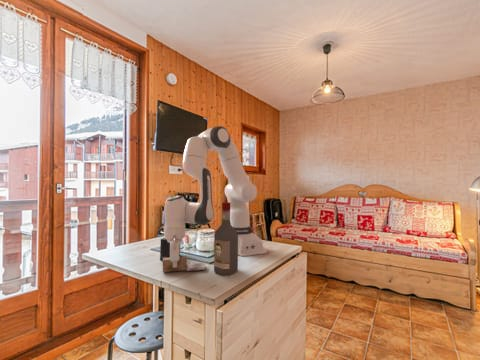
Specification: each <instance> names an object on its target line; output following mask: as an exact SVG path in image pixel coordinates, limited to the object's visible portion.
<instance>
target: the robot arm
mask: <svg viewBox="0 0 480 360" xmlns="http://www.w3.org/2000/svg"><path fill="white" fill-rule="evenodd" d="M184 147H185V148H184V151H183V155H182V156H183V158H182V162H181V163H182V169H183V171H184V173H185V174H186V175H188V176H189V177H191V178H193V179H195V180H197V181H198V183H199V196H200V197H199V198H200V200H199V202H193V201H188V200H186V199H185V198H184V196H183V195H172V196H169V197H167V198H166V199H165V202H164V211H163V212H164V214H163V215H164V216H163V217H164V221H165V222H164V229H163V231H164V233H163V236H164V237H163V238H165V239H167V242H169V243H170V261H171V262H173V268H175V267H177V261H179V257H180V256H179V245H180V246H181V242H182V241H183V239H185V238H186V223H187V224H195V225H199V226H202V227H203V226H207V225H208V224H210V223H211V222H212V221H213V219H214V216H215V215H214V214H215V212H214V206H213V194H212V193H213V191H212V189H213V188H212V174H211V171H210V170H209V169H208V168H207V167H208V166H207V154H208V152H212V151H215V152H217V154H218V159H219V161H220V165H221V168H222V171H223V175H224V176H225V177H226V179H227V180H228V182H229V183H228V184H226V186H225V187H224V195H225V197H226V199H227V202H230V223H231V225H232V227H233V228H234V229H235V230H236V231H237V234H238V256H241V257H248V256H257V255H261V254H267V253H268V248H266V247H265V246H264V243H263V240H262V239H261V238H260V236H258V235H256V234H255V233H254V232H255V231H256V228H255V227H252V226H251V224H250V223H251V222H250V220H251V219H250V215H251V214H250V213H251V212H250V211H249V209H248V205H247V203H249V202H252V201H254V200H255V199H256V198H257V195H258V190H257V187H256V185H255V184H254V183H252V182H251V180H250V178H249V176H248V175H247V172H246V171H245V168H244V166H243V163H242V160H241V156H240V152H239V150H238V148H237V146H236V143H235V142H234V140H233V139H232V138H231V136H230V133H229V131H228V130H227V128H226V127H225V126H222V125H221V126H220V125H217V126H214V127H211V128H210V127H209V128H207V129H206V130H204V131H203V132H200V133H198V134H197V135H195V136H192V137H190V138H188V139H187V141H186V144H185V146H184Z"/></svg>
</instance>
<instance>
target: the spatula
mask: <svg viewBox="0 0 480 360" xmlns="http://www.w3.org/2000/svg"><path fill="white" fill-rule="evenodd" d="M187 260H188V257H187V256H186V255H185V256H179V261H177V267H175V268H173V262H171V261H170V258H163V260H162V273H165V272H168V273H169V272H178V271H186V272H189V271H190V272H193V271H201V270H202V271H203V270H206V269H207V267H206V263H205V262H196V263H195V262H194V263H188V261H187Z"/></svg>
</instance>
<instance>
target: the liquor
mask: <svg viewBox="0 0 480 360" xmlns="http://www.w3.org/2000/svg"><path fill="white" fill-rule="evenodd" d="M221 206H222V207H221V209H222V217H221V219H222V220H221V225H219V227H218V228H217V229H216V230H215V231H214V235H213V238H214V239H213V242H214V245H213V248H214V249H213V256H214V257H213V271H214V274H218V275H220V276H223V277H224V276H230V275H234V274H235V273H238V269H239V265H238V263H239V257H238V256H239V255H238V234H237V231H236V230H235V229H234V228H233V227H232V225H231V223H230V202H228V201H227V202H225V201H224V202H221Z"/></svg>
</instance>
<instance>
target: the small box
mask: <svg viewBox="0 0 480 360" xmlns="http://www.w3.org/2000/svg"><path fill="white" fill-rule="evenodd" d="M159 247H160V248H159V249H160V250H159V251H160V253H159V254H160V255H159V260H160V261H163V258H170V243H169V242H167V239H165V238H164V237H163V238H160V246H159ZM179 255H180V256H181V244H180V245H179Z"/></svg>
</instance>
